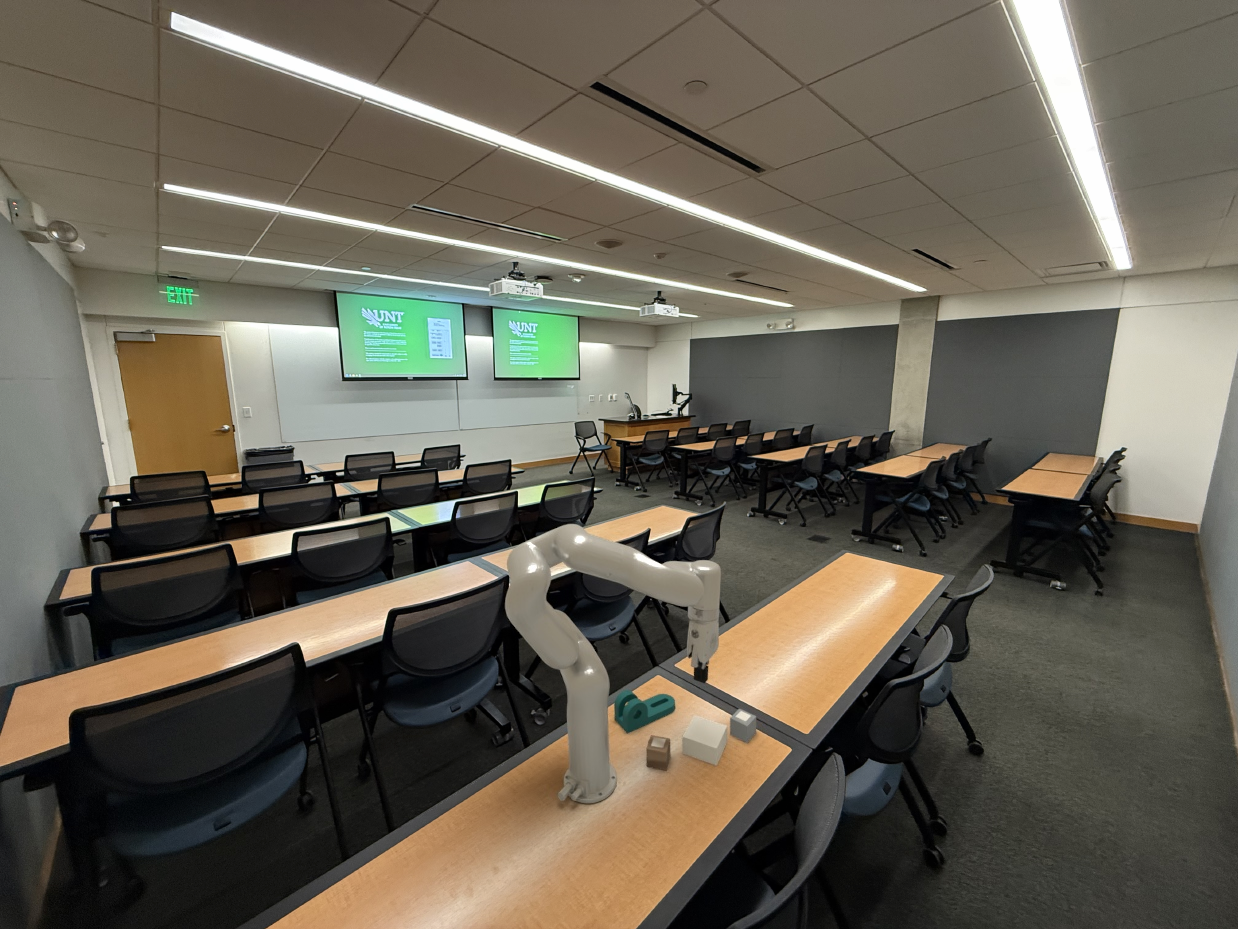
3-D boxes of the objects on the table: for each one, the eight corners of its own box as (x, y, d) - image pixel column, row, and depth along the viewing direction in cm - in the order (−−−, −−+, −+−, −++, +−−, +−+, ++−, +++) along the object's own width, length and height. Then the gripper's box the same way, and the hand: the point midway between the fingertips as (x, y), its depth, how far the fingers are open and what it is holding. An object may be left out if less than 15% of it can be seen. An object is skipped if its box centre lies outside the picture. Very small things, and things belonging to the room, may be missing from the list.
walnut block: (666, 771, 116) (666, 751, 116) (646, 767, 118) (646, 747, 117) (670, 756, 121) (670, 737, 120) (651, 752, 123) (651, 733, 122)
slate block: (747, 743, 125) (747, 725, 124) (730, 734, 128) (730, 716, 127) (756, 733, 128) (756, 715, 127) (739, 725, 132) (739, 707, 131)
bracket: (627, 734, 129) (626, 708, 128) (614, 720, 135) (613, 695, 134) (679, 710, 139) (679, 685, 137) (665, 698, 144) (665, 674, 143)
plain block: (716, 766, 118) (716, 748, 117) (682, 754, 122) (682, 736, 121) (727, 743, 125) (727, 725, 125) (694, 732, 130) (694, 715, 129)
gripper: (706, 627, 110) (703, 700, 112) (728, 604, 122) (725, 671, 125) (676, 618, 114) (674, 690, 116) (701, 597, 126) (698, 662, 129)
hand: (700, 680), depth 120 cm, fingers closed
